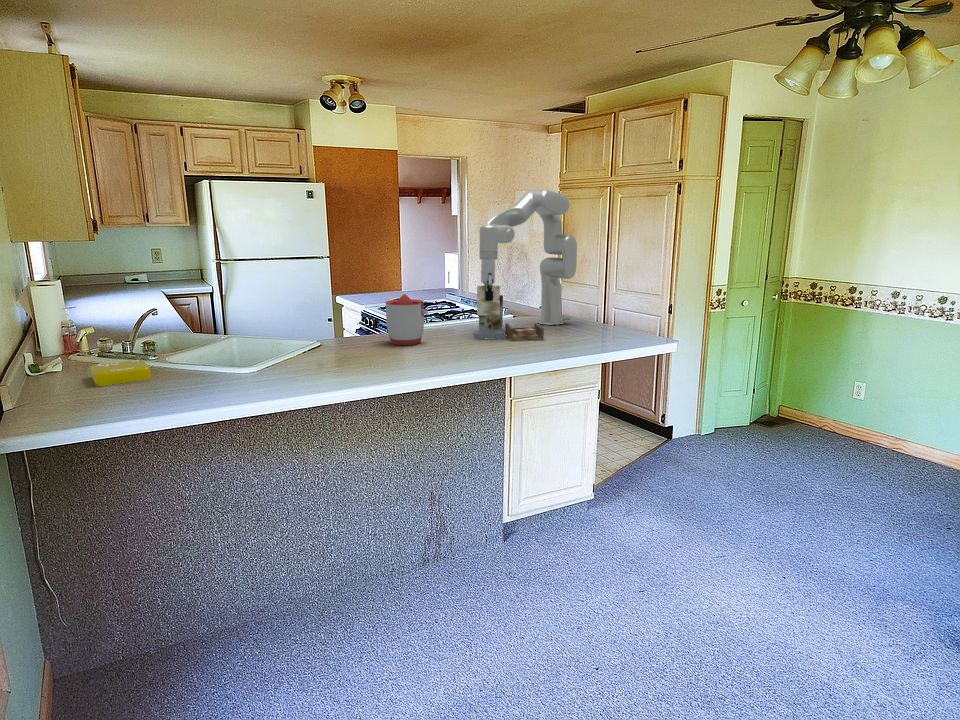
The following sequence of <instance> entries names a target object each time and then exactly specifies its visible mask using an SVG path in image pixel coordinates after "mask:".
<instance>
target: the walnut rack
mask: <svg viewBox="0 0 960 720" xmlns="http://www.w3.org/2000/svg"><path fill="white" fill-rule="evenodd" d="M533 326H534V327H533ZM533 326H532V327H512V326H511V325H510V324H509V322H508V323H505V324H504V327H505V328H504V332H505V333H504V335H505V334H506V335H507V336H506V335H505V336H506V338H507V337H508V338H509V339H510V340H534V341H544V337H545V336H544V332H545V331H544V330H545V329H544V327H543V326H542V325H540V324H538V322H534V325H533ZM528 328H532V329H535V330H536V335H525V336H513V334H515V330H516V329H528ZM508 338H507V339H508ZM509 339H508V340H509ZM510 340H509V341H510Z"/></svg>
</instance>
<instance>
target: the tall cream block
mask: <svg viewBox="0 0 960 720" xmlns="http://www.w3.org/2000/svg"><path fill="white" fill-rule="evenodd" d="M485 291H486V286H484V285H477V286H476V314H477V316H479V315H500V295H501V294H500V293H501V287H500V285H498V284H497V285H494V284H493V301H486V300H485Z"/></svg>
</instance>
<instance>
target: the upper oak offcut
mask: <svg viewBox="0 0 960 720" xmlns="http://www.w3.org/2000/svg"><path fill="white" fill-rule="evenodd" d="M527 328H528V329H516V330H515V335H516V336H525V335H536V330H535V329H532V328H530V327H527Z"/></svg>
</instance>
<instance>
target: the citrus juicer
mask: <svg viewBox="0 0 960 720" xmlns="http://www.w3.org/2000/svg"><path fill="white" fill-rule="evenodd" d="M384 303H385V316H386V318H385V320H386V329H387V330H386V331H387V333H388V336H389V337H388V338H389V340H390V342H391V344H393V345H395V344H396V345H395V346H399V345H401V346H402V345H403V346H415V345H416V344H419V343H421V341H422V338H423V334H424V328H425V327H424V326H425V315H426V316H429V315H430V314H429V311H428V309H425V307H424V305H425V303H424V300H420V299H411V298H410V297H409V296H408V294H405V293H403V294H402V295H401V296H400V297H399V299H391V300H386V301H385V302H384Z"/></svg>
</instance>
